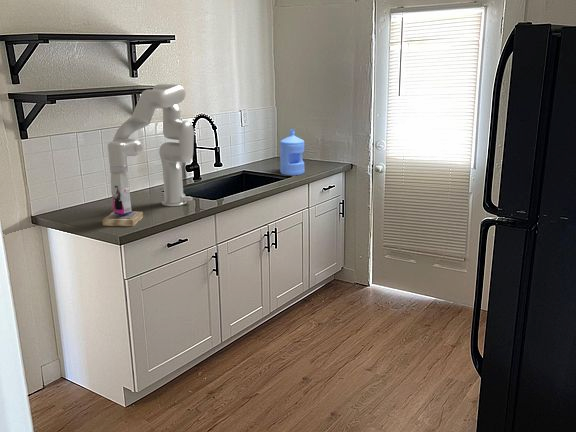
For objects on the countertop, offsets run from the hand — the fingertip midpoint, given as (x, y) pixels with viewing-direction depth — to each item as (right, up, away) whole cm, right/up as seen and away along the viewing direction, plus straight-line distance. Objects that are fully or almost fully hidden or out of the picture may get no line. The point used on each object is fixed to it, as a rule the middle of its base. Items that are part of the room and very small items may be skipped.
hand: (122, 206), depth 255 cm
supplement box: (0, -3, +1) cm, 3 cm away
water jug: (+79, +23, +104) cm, 133 cm away
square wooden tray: (0, -7, +2) cm, 7 cm away
